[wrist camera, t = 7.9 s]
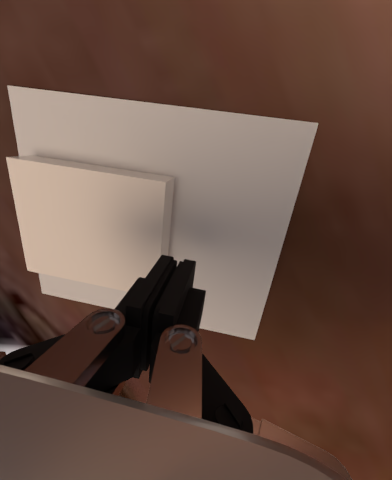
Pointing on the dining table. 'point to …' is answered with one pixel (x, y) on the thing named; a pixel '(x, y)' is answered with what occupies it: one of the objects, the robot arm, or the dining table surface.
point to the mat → (185, 187)
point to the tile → (90, 219)
